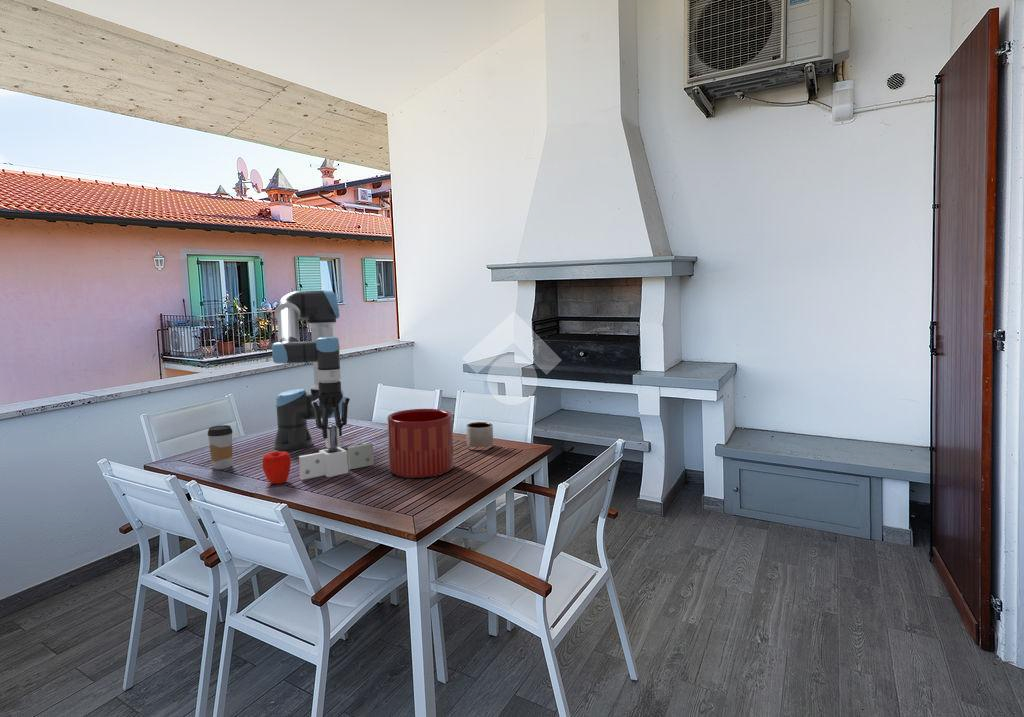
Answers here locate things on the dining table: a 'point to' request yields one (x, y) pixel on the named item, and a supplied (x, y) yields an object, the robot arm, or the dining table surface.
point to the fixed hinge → (323, 464)
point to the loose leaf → (360, 456)
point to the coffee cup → (221, 446)
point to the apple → (277, 466)
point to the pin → (333, 439)
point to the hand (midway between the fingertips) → (332, 446)
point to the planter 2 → (479, 434)
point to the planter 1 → (420, 442)
